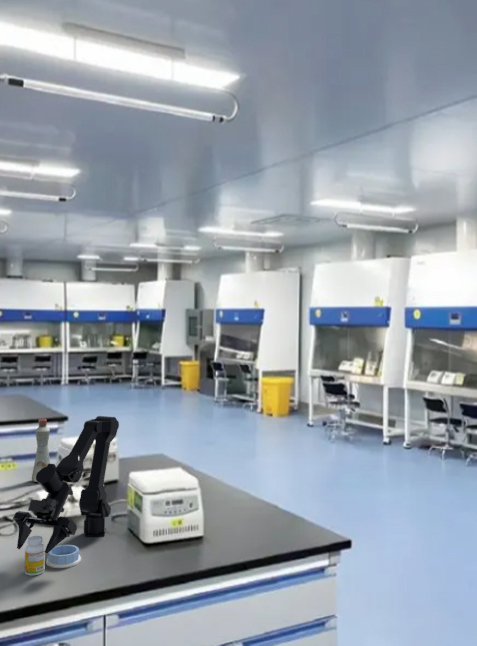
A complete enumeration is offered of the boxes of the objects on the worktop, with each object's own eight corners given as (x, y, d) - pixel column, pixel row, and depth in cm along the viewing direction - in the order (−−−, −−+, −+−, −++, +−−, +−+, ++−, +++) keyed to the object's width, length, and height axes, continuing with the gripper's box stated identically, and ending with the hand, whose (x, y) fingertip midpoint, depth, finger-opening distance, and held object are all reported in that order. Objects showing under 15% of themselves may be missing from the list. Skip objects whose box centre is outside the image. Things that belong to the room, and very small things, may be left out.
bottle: (27, 483, 266) (28, 418, 266) (37, 477, 275) (38, 415, 275) (46, 484, 265) (46, 419, 264) (55, 478, 273) (56, 416, 273)
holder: (82, 554, 188) (83, 543, 188) (78, 567, 178) (78, 556, 178) (49, 555, 187) (49, 544, 187) (43, 568, 177) (43, 557, 177)
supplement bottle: (27, 568, 177) (27, 534, 177) (46, 568, 178) (46, 534, 177) (22, 576, 172) (22, 541, 172) (42, 575, 172) (42, 541, 172)
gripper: (16, 483, 181) (-9, 533, 171) (71, 490, 175) (48, 541, 165) (33, 502, 189) (9, 551, 178) (86, 509, 183) (64, 559, 173)
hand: (32, 550), depth 173 cm, fingers open, 9 cm apart
